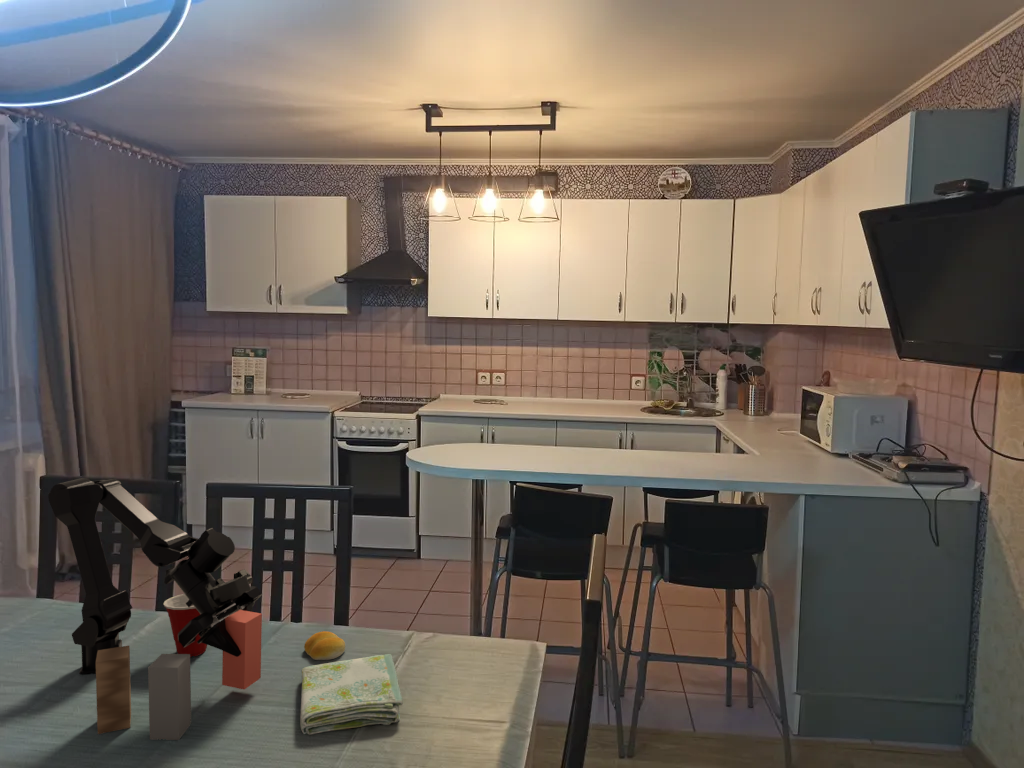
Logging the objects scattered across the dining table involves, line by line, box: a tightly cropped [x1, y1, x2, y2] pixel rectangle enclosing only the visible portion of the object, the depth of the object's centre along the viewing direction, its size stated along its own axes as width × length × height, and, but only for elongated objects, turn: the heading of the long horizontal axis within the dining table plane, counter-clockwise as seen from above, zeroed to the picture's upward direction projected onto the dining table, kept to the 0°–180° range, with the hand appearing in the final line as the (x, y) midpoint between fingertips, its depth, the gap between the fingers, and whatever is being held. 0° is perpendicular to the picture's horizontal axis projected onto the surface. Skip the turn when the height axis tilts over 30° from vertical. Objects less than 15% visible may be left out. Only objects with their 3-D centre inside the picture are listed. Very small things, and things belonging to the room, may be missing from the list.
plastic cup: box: [163, 593, 208, 658], centre depth 157 cm, size 11×11×12 cm
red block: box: [221, 610, 263, 690], centre depth 140 cm, size 5×5×13 cm
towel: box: [299, 653, 403, 735], centre depth 138 cm, size 18×21×5 cm
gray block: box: [147, 653, 192, 741], centre depth 126 cm, size 5×5×13 cm
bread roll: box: [303, 630, 346, 661], centre depth 158 cm, size 8×9×4 cm
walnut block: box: [95, 645, 132, 735], centre depth 128 cm, size 5×5×13 cm
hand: (248, 649), depth 139 cm, fingers closed on red block, 5 cm apart
